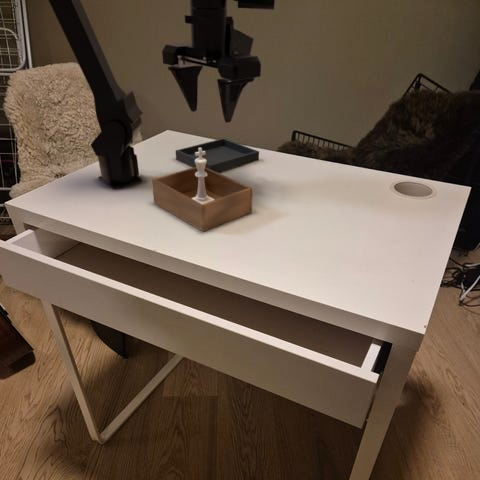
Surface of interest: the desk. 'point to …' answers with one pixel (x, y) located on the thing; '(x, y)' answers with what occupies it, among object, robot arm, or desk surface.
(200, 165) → the chess piece
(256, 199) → the desk surface
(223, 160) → the tray
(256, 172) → the desk surface
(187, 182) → the wooden box
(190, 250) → the desk surface
